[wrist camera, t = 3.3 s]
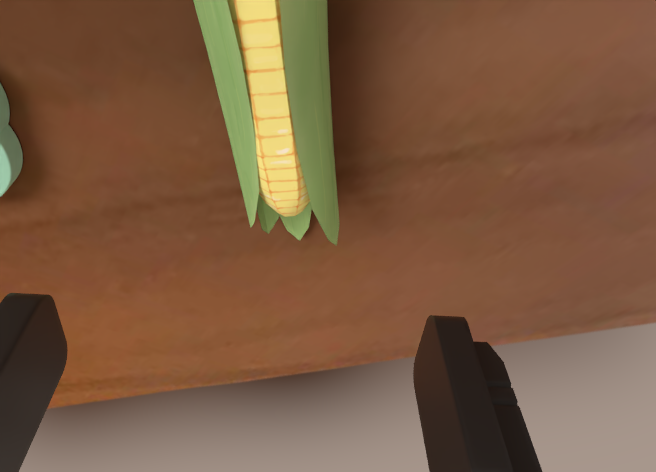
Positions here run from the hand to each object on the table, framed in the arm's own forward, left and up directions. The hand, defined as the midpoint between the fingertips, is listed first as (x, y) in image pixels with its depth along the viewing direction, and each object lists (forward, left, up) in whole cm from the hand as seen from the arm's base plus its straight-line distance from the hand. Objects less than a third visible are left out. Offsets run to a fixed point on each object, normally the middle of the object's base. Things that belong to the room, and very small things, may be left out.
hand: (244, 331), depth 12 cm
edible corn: (0, 0, -16) cm, 16 cm away
